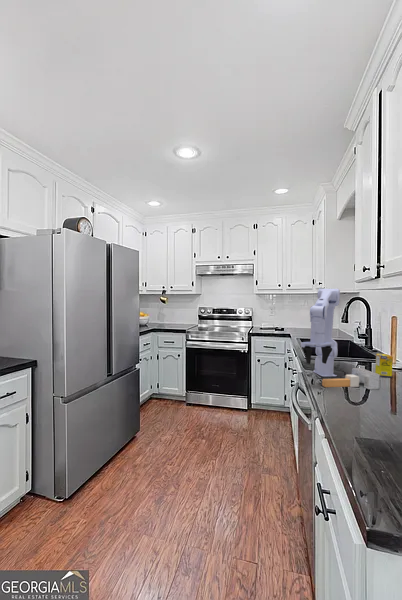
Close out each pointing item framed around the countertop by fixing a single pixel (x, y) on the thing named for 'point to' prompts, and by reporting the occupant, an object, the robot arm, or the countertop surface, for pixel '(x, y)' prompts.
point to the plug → (342, 382)
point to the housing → (367, 378)
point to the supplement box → (384, 365)
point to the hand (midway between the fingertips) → (316, 363)
